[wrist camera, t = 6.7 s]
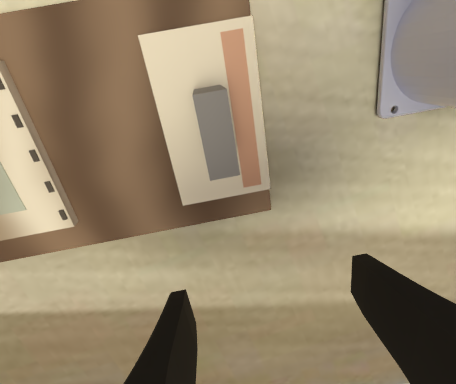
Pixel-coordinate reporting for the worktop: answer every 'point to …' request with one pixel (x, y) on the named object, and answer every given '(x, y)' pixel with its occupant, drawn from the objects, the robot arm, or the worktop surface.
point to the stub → (210, 107)
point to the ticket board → (92, 126)
